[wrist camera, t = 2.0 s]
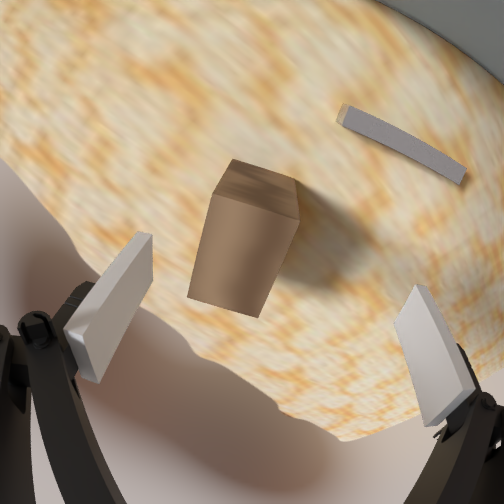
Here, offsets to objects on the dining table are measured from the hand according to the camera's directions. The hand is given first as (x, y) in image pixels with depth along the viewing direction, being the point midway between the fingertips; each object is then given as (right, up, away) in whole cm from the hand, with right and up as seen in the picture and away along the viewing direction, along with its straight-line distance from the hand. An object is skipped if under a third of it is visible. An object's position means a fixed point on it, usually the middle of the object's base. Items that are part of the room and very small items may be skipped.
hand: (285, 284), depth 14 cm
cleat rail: (+13, +13, +12) cm, 22 cm away
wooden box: (-2, +6, +18) cm, 19 cm away
